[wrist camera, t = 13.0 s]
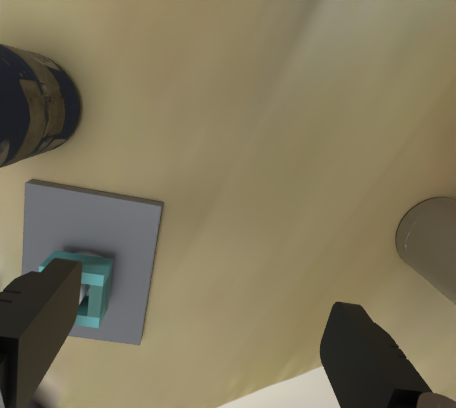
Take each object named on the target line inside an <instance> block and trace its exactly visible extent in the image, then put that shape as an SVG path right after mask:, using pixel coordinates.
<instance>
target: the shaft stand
mask: <svg viewBox="0 0 456 408" xmlns="http://www.w3.org/2000/svg"><path fill="white" fill-rule="evenodd" d="M162 206H163V202H158V201H152V200H146V199H141V198H135V197H129V196H124V195H118V194H112V193H107V192H101V191H95V190H90V189H84V188H78V187H73V186H67V185H61V184H56V183H50V182H44V181H39V180H33V179H32V180H30V181H28V182H26V183H25V205H24V231H23V256H22V275H24V274H26V273H28V272H31V271H35V272H39V266H40V265H41V264H42V263H43V262H44V261H45V260H46V259H47V258H48V257H49V256H50V255H51V254H52V253H53V252H54V251H62V252H69V253H75V254H82V255H89V256H95V257H102V258H109V259H113V268H112V277H111V286H110V295H109V304H108V309H107V311H106V313H105V315H104V318H103V320H102V322H101V324H100V326H99V328H93V327H86V326H78V325H73V328H72V329H71V331H70V333H69V335H68V336H73V337H81V338H88V339H96V340H103V341H111V342H119V343H126V344H134V345H140V342H141V339H142V334H143V327H144V321H145V315H146V308H147V302H148V296H149V289H150V283H151V276H152V270H153V264H154V257H155V251H156V245H157V238H158V232H159V226H160V219H161V213H162ZM89 292H90V285H89V284H82V283H81V289H80V300H79V304H80V303H81V301H82V299H83V298H84V296H85V295H86V296H89Z"/></svg>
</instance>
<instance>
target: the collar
mask: <svg viewBox="0 0 456 408" xmlns="http://www.w3.org/2000/svg"><path fill="white" fill-rule="evenodd" d="M54 258H62V259H69V260H75V261H81V262H82V279H81V283H82V284H89V285H90V292H89V296H86V295H85V296H84V298H83V299H82V301H81V303H80V304H79V309H78V314H77V317H76V320H75V323H74V325H78V326H86V327H93V328H99V326H100V324H101V322H102V320H103V318H104V315H105V313H106V311H107V309H108V304H109V295H110V286H111V277H112V268H113V259H109V258H102V257H95V256H89V255H82V254H75V253H69V252H62V251H54V252H53V253H52V254H51V255H50V256H49V257H48V258H47V259H46V260H45V261H44V262H43V263H42V264H41V265H40V266H39V272H41V271H42V270H43V269H44V268H45V267H46V266H47V265H48V264H49V263H50V262H51V261H52V259H54Z"/></svg>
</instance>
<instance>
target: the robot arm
mask: <svg viewBox="0 0 456 408" xmlns="http://www.w3.org/2000/svg"><path fill="white" fill-rule="evenodd" d="M396 245H397V250H398V252H399V254H400V256H401V257H402V259H403V260H404V261H405V262H406V263H407V264H409V265H410V266H411V267H412V268H413V269H414V270H416V271H417V272H418V273H419V274H420V275H421V276H423V277H424V278H425V279H426V280H427V281H428V282H429V283H431V284H432V285H433V286H434V287H435V288H437V289H438V290H439V291H440V292H441V293H442V294H444V295H445V296H446V297H447V298H448V299H449V300H451V301H452V302H453V303H454V304H455V305H456V200H454V199H450V198H433V199H429V200H426V201H424V202H422V203H420V204H418V205H417V206H415V207H414V208H413V209H411V210H410V211H409V212H408V213H407V214H406V216H405V217H404V218H403V220H402V221H401V224H400V226H399V228H398V231H397V235H396ZM81 279H82V262H81V261H75V260H69V259H62V258H54V259H52V261H51V262H50V263H49V264H48V265H47V266H46V267H45V268H44V269H43V270H42V271H41V272H35V271H31V272H28V273H26V274H24V275H22V276H20V277H18V278H15V279H14V280H13V281H12V282H11V283H10V284H9V285H8V286H7V287H6V288H5V289H3V292H0V408H26V406H27V405H28V403H29V401H30V399H31V398H32V396H33V394H34V393H35V391H36V389H37V387H38V386H39V384H40V382H41V381H42V379H43V377H44V375H45V374H46V372H47V370H48V369H49V367H50V365H51V364H52V362H53V360H54V358H55V357H56V355H57V353H58V352H59V350H60V348H61V346H62V345H63V343H64V341H65V340H66V338H67V336H68V335H69V333H70V331H71V329H72V328H73V325H74V323H75V320H76V317H77V314H78V309H79V300H80V289H81ZM320 358H321V362H322V364H323V367H324V369H325V371H326V374H327V376H328V379H329V381H330V383H331V385H332V388H333V391H334V393H335V395H336V398H337V400H338V402H339V405H340V407H341V408H456V402H455V401H454V400H452V399H450V398H448V397H446V396H443V395H441V394H437V393H433V392H432V390H431V389H430V388H429V386H428V385H427V384H426V382H425V381H424V380H423V378H422V377H421V376H420V374H419V373H418V372H417V370H416V369H415V368H414V366H413V365H412V364H411V362H410V361H409V360H407V359H406V356H405V354H404V353H403V352H402V351H401V349H399V348H398V345H397V344H396V343H395V341H394V340H393V339H392V337H391V336H390V335H389V334H388V333H387V332H386V331H385V330H383V329H382V328H381V327H380V326H379V325H377V324H376V323H374V322H373V321H372V320H371V318H370V317H369V316H368V314H367V313H366V311H365V310H364V309H363V307H362V306H361V305H357V304H350V303H344V302H336V303H335V304H334V305H333V307H332V310H331V313H330V316H329V319H328V322H327V325H326V328H325V331H324V334H323V337H322V340H321V344H320Z"/></svg>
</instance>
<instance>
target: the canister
mask: <svg viewBox="0 0 456 408" xmlns="http://www.w3.org/2000/svg"><path fill="white" fill-rule="evenodd" d="M78 117H79V101H78V96H77V93H76V90H75V88H74V86H73V84H72V82H71V80H70V79H69V77H68V76H67V75H66V73H65V72H64V71H63V70H62V69H61V68H60V67H59V66H58V65H56V64H55V63H54V62H52V61H51V60H49V59H47V58H46V57H44V56H41V55H39V54H36V53H33V52H29V51H24V50H21V49H17V48H14V47H10V46H6V45H3V44H0V168H1V167H4V166H7V165H10V164H13V163H15V162H18V161H20V160H23V159H26V158H29V157H32V156H35V155H38V154H41V153H44V152H47V151H50V150H52V149H55V148H56V147H58V146H60V145H61V144H63V143H64V142H65V141H66V140H67V139H68V138H69V137H70V136H71V135H72V133H73V131H74V129H75V127H76V125H77V122H78Z"/></svg>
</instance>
